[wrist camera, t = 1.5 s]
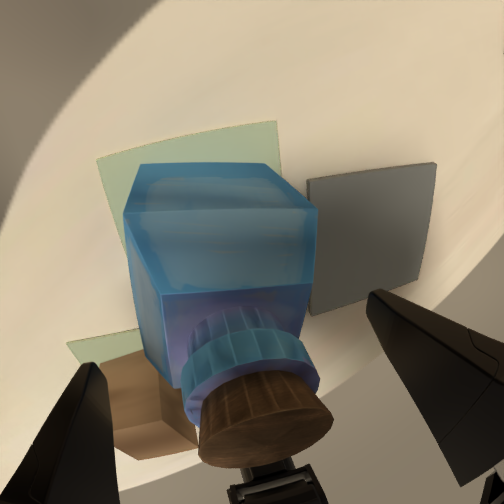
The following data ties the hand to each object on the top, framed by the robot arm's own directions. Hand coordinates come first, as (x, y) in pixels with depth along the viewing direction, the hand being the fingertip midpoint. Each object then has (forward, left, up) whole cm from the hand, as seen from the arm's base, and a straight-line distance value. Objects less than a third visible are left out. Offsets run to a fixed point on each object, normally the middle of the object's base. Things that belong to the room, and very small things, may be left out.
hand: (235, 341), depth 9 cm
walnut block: (-11, +7, -9) cm, 15 cm away
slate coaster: (-4, -11, -9) cm, 15 cm away
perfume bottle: (0, 0, -9) cm, 9 cm away
